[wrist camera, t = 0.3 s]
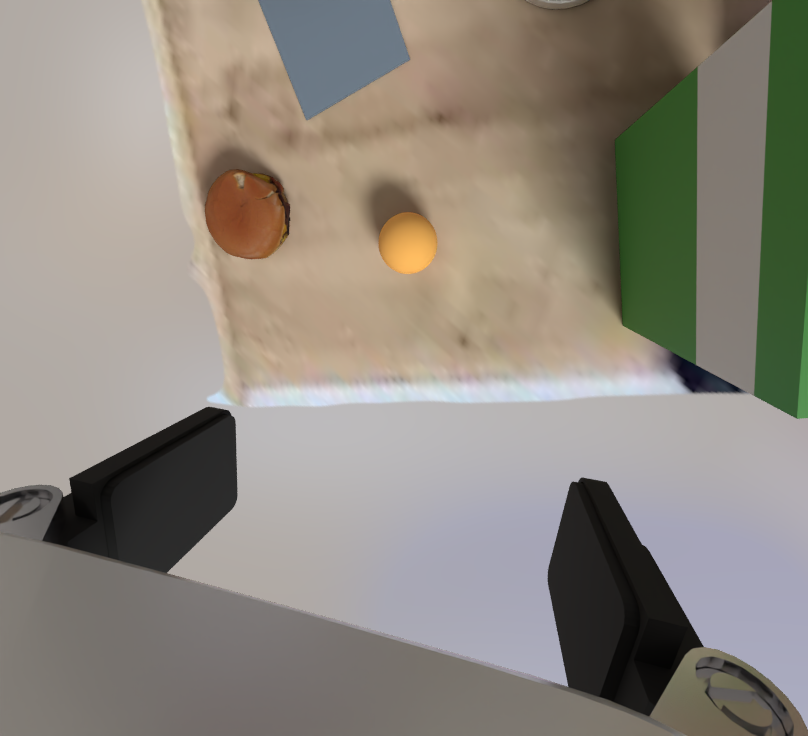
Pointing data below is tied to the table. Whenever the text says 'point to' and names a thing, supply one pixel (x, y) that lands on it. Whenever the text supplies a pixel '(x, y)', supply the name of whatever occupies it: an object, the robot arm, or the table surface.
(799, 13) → the hardback book
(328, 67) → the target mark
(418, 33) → the table surface
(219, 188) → the burger
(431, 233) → the ball
